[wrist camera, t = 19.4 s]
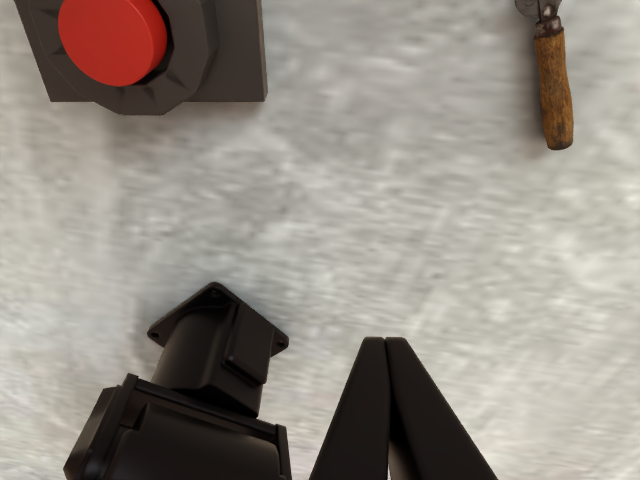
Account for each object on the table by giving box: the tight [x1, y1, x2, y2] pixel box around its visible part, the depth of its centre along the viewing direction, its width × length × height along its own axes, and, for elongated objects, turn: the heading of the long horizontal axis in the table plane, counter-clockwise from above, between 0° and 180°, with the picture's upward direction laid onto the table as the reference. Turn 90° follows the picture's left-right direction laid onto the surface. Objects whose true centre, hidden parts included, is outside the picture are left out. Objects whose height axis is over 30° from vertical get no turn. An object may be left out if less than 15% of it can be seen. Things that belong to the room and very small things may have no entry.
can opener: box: [515, 0, 574, 150], centre depth 17 cm, size 9×2×1 cm, turn 15°
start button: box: [58, 0, 167, 86], centre depth 15 cm, size 3×3×2 cm
